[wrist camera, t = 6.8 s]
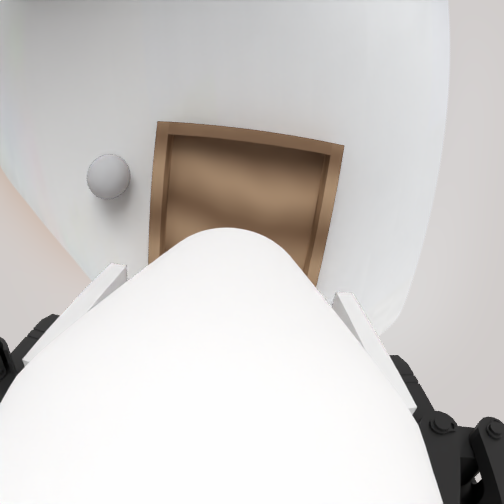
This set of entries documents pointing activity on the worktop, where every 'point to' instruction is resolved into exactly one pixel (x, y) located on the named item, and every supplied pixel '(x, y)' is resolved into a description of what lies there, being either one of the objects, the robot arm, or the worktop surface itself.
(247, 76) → the worktop surface
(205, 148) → the tray
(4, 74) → the worktop surface
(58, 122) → the worktop surface
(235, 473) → the cup
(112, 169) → the ball
